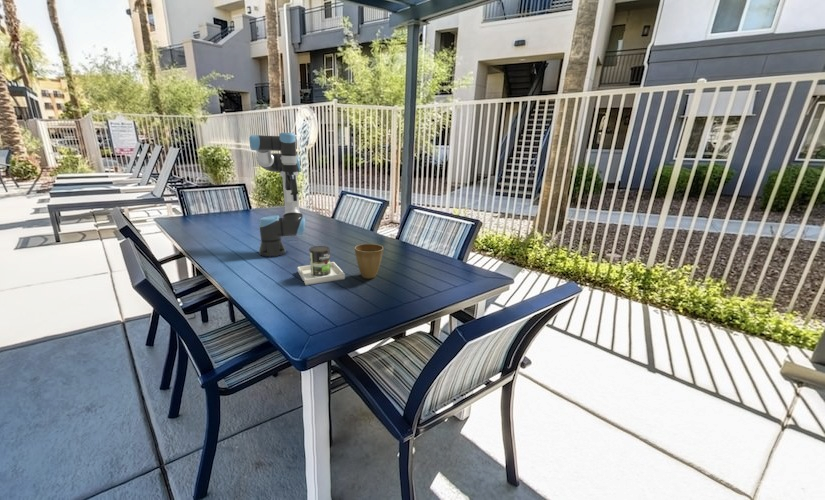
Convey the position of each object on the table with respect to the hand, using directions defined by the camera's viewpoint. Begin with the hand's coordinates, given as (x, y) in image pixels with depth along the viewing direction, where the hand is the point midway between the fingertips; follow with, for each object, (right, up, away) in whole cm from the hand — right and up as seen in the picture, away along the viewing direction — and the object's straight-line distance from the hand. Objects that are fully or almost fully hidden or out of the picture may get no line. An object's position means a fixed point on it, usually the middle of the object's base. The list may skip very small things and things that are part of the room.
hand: (292, 204), depth 184 cm
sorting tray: (+16, -38, -3) cm, 42 cm away
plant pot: (+42, -39, -2) cm, 57 cm away
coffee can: (+16, -37, -3) cm, 41 cm away
